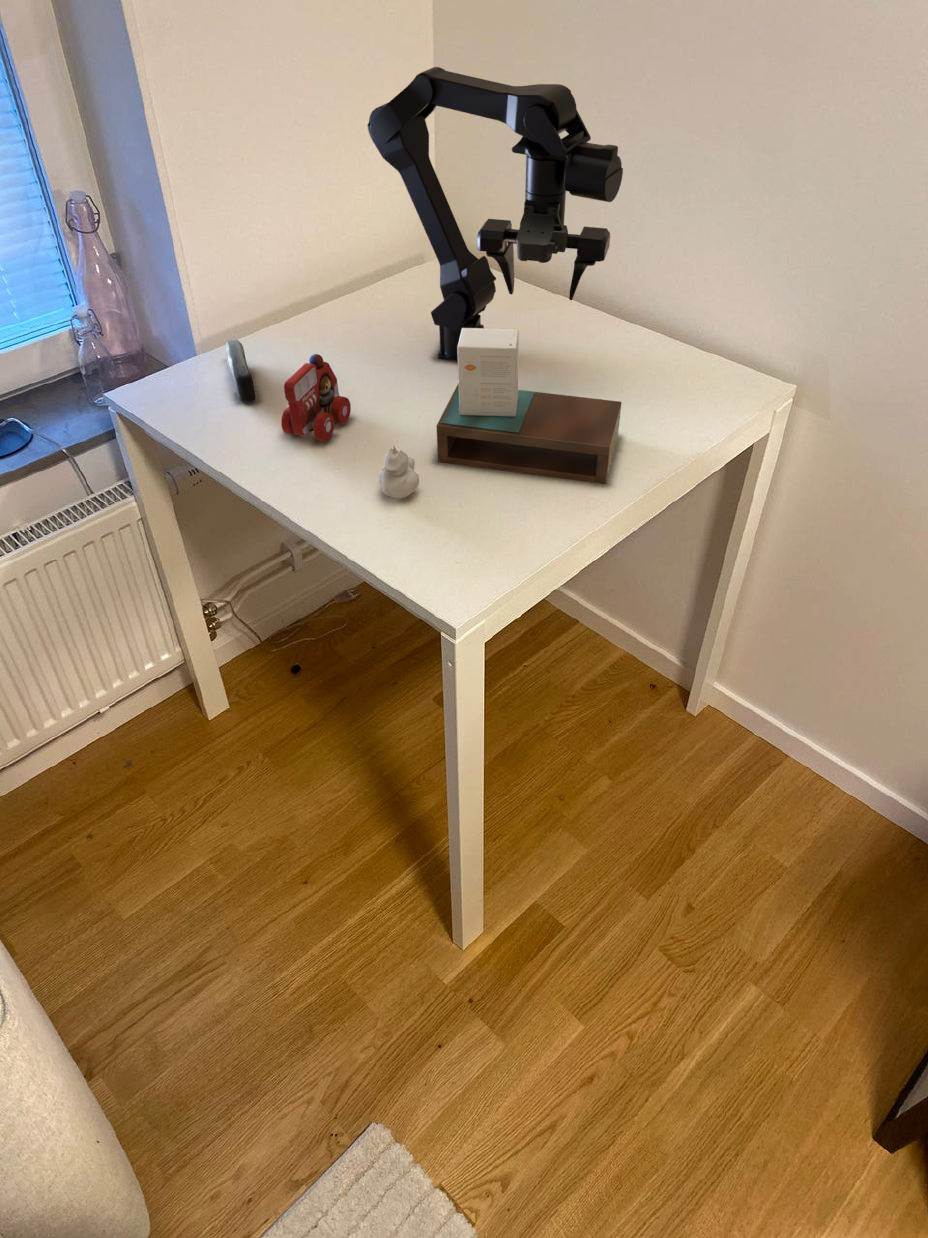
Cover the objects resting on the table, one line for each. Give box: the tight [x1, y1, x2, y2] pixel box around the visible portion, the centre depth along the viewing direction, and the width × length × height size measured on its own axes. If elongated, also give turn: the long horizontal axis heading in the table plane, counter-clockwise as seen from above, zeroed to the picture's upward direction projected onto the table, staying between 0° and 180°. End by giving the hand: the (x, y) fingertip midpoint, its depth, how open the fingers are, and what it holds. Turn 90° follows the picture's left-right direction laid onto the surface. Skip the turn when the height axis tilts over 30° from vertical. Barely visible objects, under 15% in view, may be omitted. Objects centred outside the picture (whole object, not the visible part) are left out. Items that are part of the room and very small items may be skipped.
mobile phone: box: [225, 338, 257, 403], centre depth 149 cm, size 5×3×15 cm
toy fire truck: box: [280, 353, 352, 442], centre depth 137 cm, size 7×12×10 cm, turn 157°
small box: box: [457, 327, 520, 417], centre depth 128 cm, size 8×6×10 cm
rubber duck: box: [378, 445, 420, 499], centre depth 125 cm, size 5×7×8 cm
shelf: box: [435, 382, 623, 485], centre depth 133 cm, size 24×12×6 cm, turn 75°
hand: (541, 296), depth 142 cm, fingers open, 9 cm apart
